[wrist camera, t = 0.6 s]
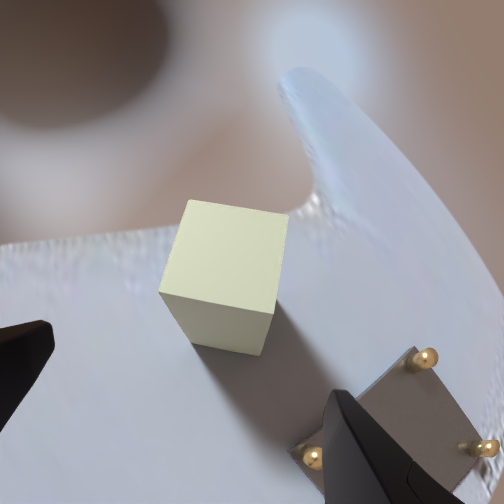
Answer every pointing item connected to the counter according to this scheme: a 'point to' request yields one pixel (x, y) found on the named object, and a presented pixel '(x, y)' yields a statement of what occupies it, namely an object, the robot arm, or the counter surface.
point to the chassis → (413, 422)
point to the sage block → (225, 275)
